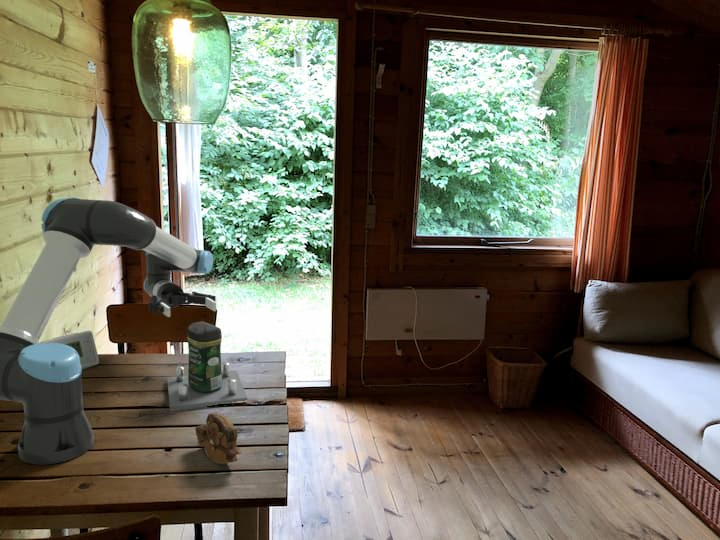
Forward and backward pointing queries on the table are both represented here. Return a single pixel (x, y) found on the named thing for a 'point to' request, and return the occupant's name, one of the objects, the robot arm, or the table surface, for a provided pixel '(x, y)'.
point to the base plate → (192, 399)
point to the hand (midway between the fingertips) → (192, 309)
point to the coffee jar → (204, 357)
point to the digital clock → (80, 347)
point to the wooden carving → (218, 439)
